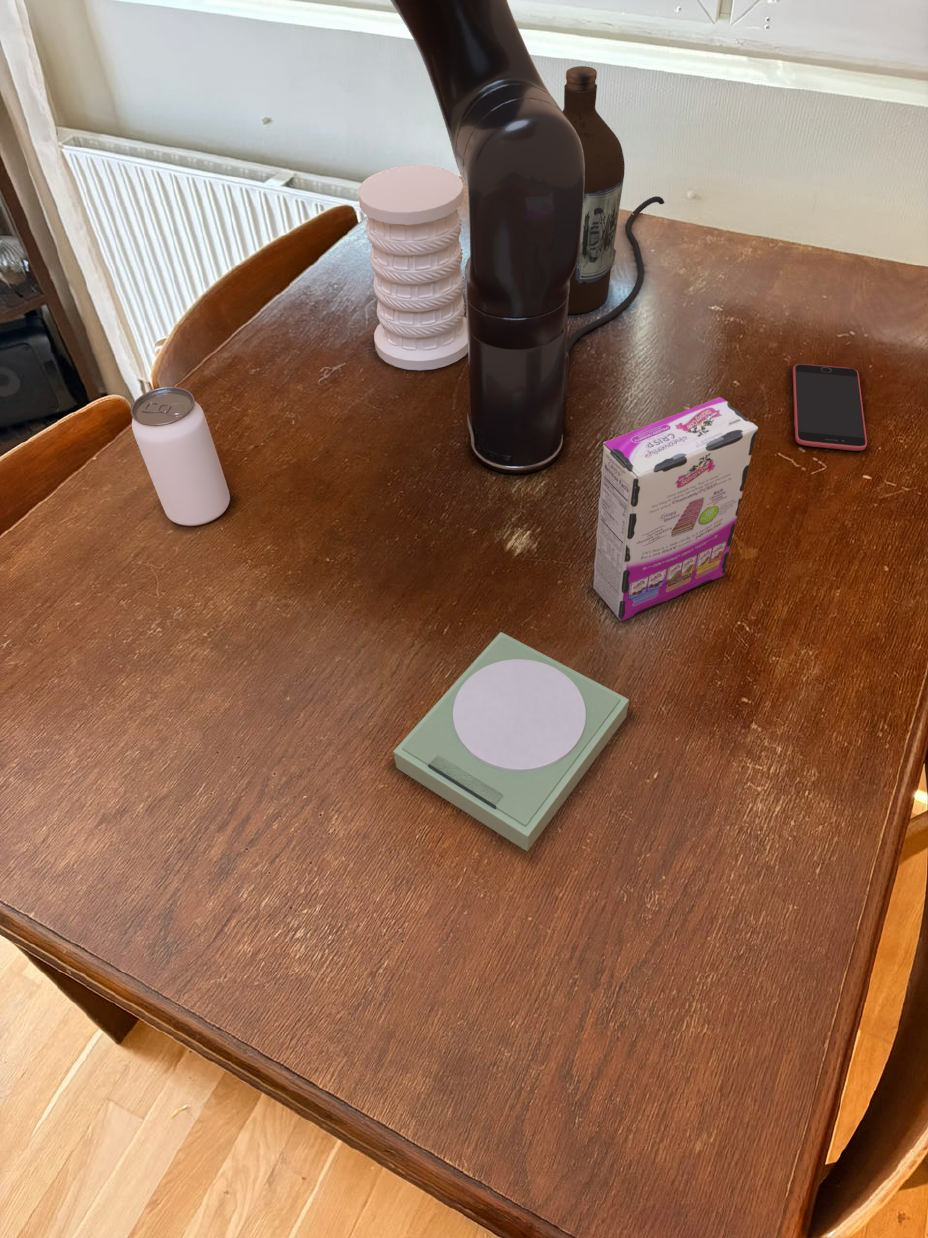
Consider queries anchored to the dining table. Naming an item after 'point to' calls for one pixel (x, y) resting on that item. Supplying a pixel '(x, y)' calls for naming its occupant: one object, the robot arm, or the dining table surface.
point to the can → (180, 455)
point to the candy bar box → (669, 505)
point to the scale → (512, 738)
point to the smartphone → (828, 407)
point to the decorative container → (416, 265)
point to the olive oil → (594, 192)
